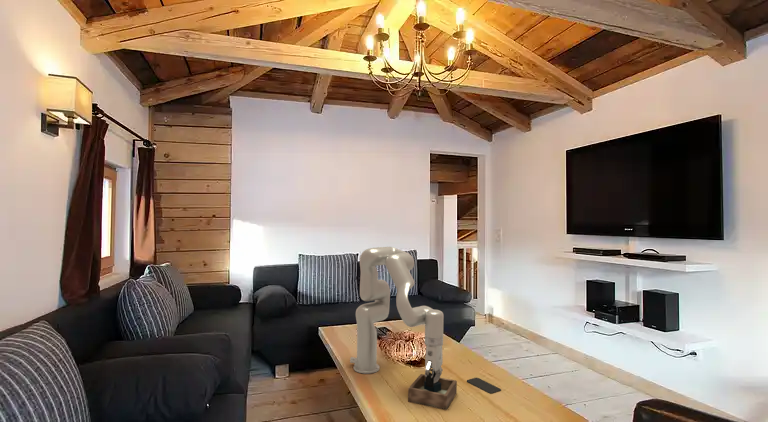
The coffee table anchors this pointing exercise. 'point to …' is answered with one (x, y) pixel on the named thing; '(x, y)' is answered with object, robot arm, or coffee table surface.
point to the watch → (436, 384)
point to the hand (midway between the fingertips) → (432, 382)
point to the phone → (483, 385)
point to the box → (432, 393)
